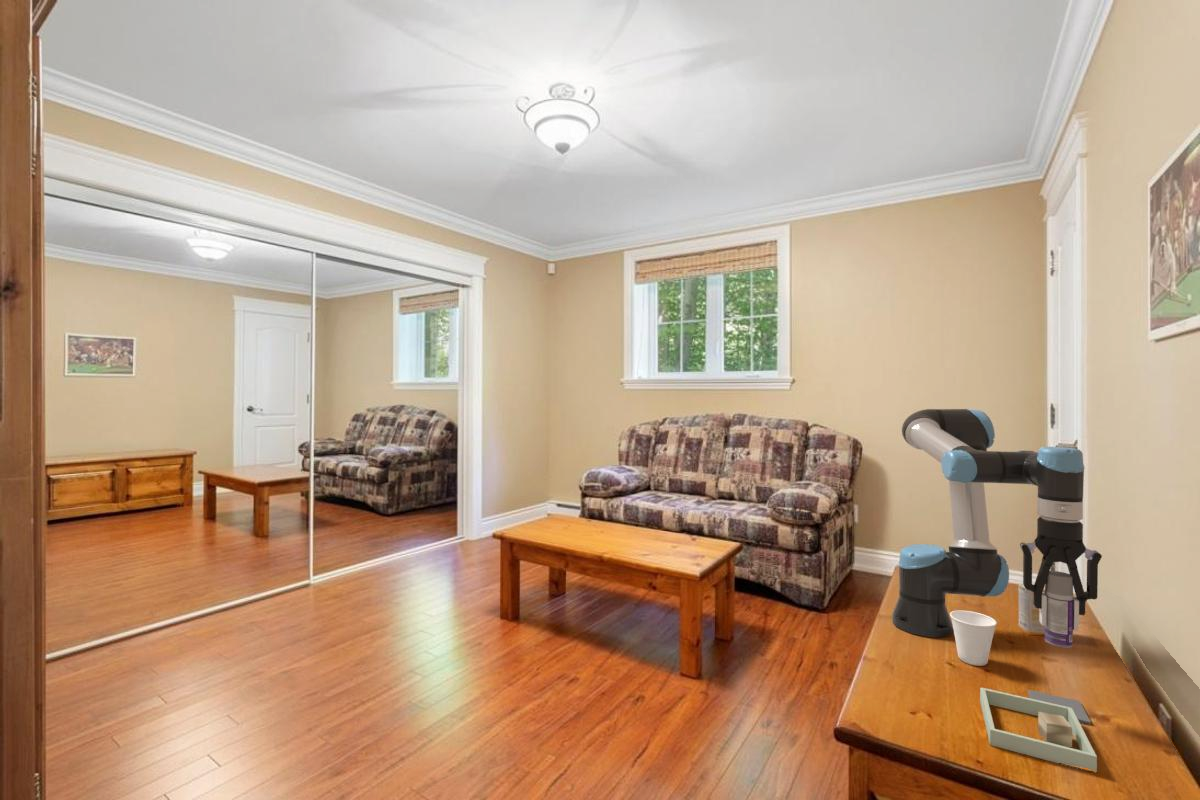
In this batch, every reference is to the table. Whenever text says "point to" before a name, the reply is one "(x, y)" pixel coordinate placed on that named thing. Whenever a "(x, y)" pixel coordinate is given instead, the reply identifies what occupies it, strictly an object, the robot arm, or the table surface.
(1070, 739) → the maple block
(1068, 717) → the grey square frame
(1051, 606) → the container
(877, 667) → the table surface
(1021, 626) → the supplement box
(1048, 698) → the pad
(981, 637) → the cup
